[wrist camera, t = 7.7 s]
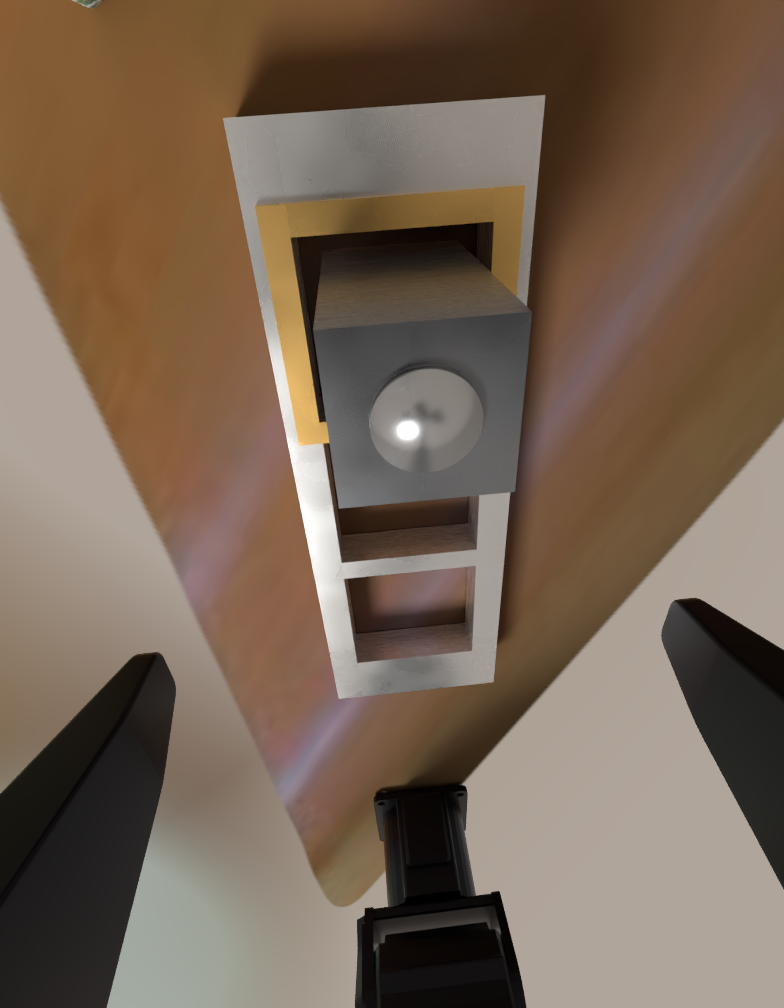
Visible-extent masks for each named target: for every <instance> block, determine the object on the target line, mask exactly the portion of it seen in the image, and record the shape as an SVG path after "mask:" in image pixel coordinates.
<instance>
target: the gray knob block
mask: <svg viewBox="0 0 784 1008" xmlns="http://www.w3.org/2000/svg"><path fill="white" fill-rule="evenodd" d="M531 319H532V311H531V310H530V309H529V308H528V307H527V306H526V305H525V304H524V303H523V302H522V301H521V300H520V299H518V298H517V297H516V296H515V295H514V294H513V293H512V292H511V291H510V290H509V289H508V288H507V287H506V286H505V285H504V284H503V283H502V282H501V281H500V280H498V279H497V278H496V277H495V276H494V275H493V274H492V273H491V272H490V271H489V270H488V269H487V268H486V267H485V266H484V265H483V264H482V263H481V262H480V261H479V260H477V259H476V258H475V257H474V256H473V255H472V254H471V253H470V252H469V251H468V250H467V249H466V248H465V247H464V246H463V245H462V244H461V243H460V242H459V241H458V240H456V239H455V240H442V241H430V242H417V243H404V244H392V245H379V246H367V247H354V248H342V249H329V250H323V254H322V262H321V270H320V278H319V286H318V294H317V302H316V310H315V318H314V326H313V334H314V340H315V347H316V354H317V361H318V368H319V375H320V382H321V388H322V395H323V402H324V409H325V416H326V423H327V430H328V436H329V443H330V450H331V457H332V464H333V471H334V478H335V485H336V491H337V498H338V505H339V509H342V508H352V507H363V506H373V505H383V504H394V503H404V502H415V501H425V500H436V499H446V498H456V497H467V496H477V495H488V494H498V493H509V492H515V486H516V476H517V465H518V455H519V444H520V434H521V424H522V413H523V403H524V392H525V382H526V372H527V361H528V351H529V340H530V330H531Z"/></svg>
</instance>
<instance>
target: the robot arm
mask: <svg viewBox="0 0 784 1008" xmlns="http://www.w3.org/2000/svg"><path fill="white" fill-rule="evenodd" d="M661 636H662V642H663V645H664V648H665V650H666V652H667V655H668V658H669V660H670V662H671V665H672V667H673V670H674V672H675V675H676V677H677V680H678V682H679V685H680V687H681V690H682V692H683V694H684V697H685V699H686V702H687V704H688V707H689V709H690V711H691V714H692V716H693V718H694V720H695V723H696V725H697V727H698V729H699V731H700V733H701V735H702V737H703V739H704V741H705V743H706V744H707V746H708V748H709V750H710V752H711V754H712V756H713V758H714V759H715V761H716V763H717V765H718V767H719V769H720V771H721V773H722V774H723V776H724V778H725V780H726V782H727V784H728V786H729V788H730V789H731V791H732V793H733V795H734V797H735V799H736V801H737V802H738V805H739V806H740V808H741V810H742V812H743V814H744V816H745V818H746V819H747V821H748V823H749V825H750V827H751V828H752V831H753V832H754V835H755V836H756V838H757V840H758V842H759V844H760V846H761V848H762V850H763V851H764V853H765V855H766V857H767V859H768V861H769V863H770V865H771V866H772V868H773V870H774V872H775V874H776V876H777V878H778V879H779V881H780V883H781V885H782V887H783V889H784V650H783V649H781V648H779V647H778V646H776V645H775V644H773V643H771V642H770V641H768V640H766V639H765V638H763V637H761V636H760V635H758V634H757V633H755V632H753V631H752V630H750V629H748V628H747V627H745V626H743V625H742V624H740V623H738V622H737V621H735V620H734V619H732V618H730V617H729V616H727V615H725V614H724V613H722V612H720V611H719V610H717V609H715V608H714V607H712V606H711V605H709V604H707V603H706V602H704V601H702V600H700V599H697V598H689V599H679V600H675V601H674V602H672V604H671V605H670V608H669V611H668V615H667V617H666V620H665V623H664V625H663V628H662V635H661ZM175 696H176V686H175V682H174V679H173V677H172V675H171V672H170V670H169V668H168V666H167V664H166V662H165V660H164V658H163V656H162V655H161V654H160V653H158V652H153V653H143V654H137V655H135V656H133V657H132V658H131V659H130V660H129V661H128V662H127V663H126V664H125V665H124V666H123V667H122V668H121V669H120V670H119V671H118V672H117V673H116V674H115V675H114V676H113V677H112V678H111V679H110V680H109V682H107V683H106V685H105V686H104V687H103V688H102V689H101V690H100V691H99V692H98V693H97V694H96V695H95V696H94V697H93V698H92V699H91V700H90V701H89V702H88V703H87V705H85V707H84V708H82V709H81V710H80V712H79V713H78V714H77V715H76V716H75V717H74V718H73V719H72V720H71V721H70V722H69V723H68V724H67V725H66V726H65V727H64V728H63V729H62V730H61V731H60V732H59V733H58V734H57V735H56V737H55V738H53V740H52V741H51V742H50V743H49V744H48V745H47V746H46V747H45V748H44V749H43V750H42V751H41V752H40V753H39V754H38V755H37V756H36V757H35V758H34V759H33V760H32V761H31V762H30V763H29V764H28V765H27V767H26V768H25V769H24V770H23V771H22V772H21V773H20V774H19V775H18V776H17V777H16V778H15V779H14V780H13V781H12V782H11V783H10V784H9V785H8V786H7V787H6V788H5V789H4V790H3V792H2V793H0V1008H106V1007H107V1004H108V999H109V996H110V992H111V988H112V984H113V980H114V976H115V972H116V968H117V964H118V960H119V956H120V952H121V948H122V944H123V940H124V936H125V932H126V928H127V924H128V920H129V917H130V912H131V909H132V905H133V901H134V896H135V893H136V889H137V885H138V881H139V877H140V873H141V869H142V865H143V861H144V857H145V853H146V849H147V845H148V841H149V837H150V834H151V829H152V826H153V822H154V817H155V814H156V809H157V806H158V802H159V797H160V793H161V789H162V785H163V780H164V773H165V767H166V760H167V753H168V746H169V739H170V732H171V724H172V717H173V710H174V703H175ZM374 807H375V813H376V819H377V825H378V831H379V837H380V840H381V841H384V851H385V867H386V883H387V898H388V907H384V908H377V909H374V908H373V907H371V908H365V916H363V917H362V918H360V919H358V920H357V935H358V936H357V937H358V957H357V977H356V994H355V1008H526V1002H525V996H524V990H523V986H522V980H521V976H520V971H519V967H518V962H517V958H516V954H515V951H514V947H513V943H512V939H511V935H510V931H509V927H508V923H507V919H506V915H505V911H504V907H503V903H502V899H501V895H500V892H499V891H495V892H491V894H486V895H479V896H476V893H475V888H474V883H473V877H472V871H471V866H470V860H469V854H468V849H467V843H466V837H465V832H464V831H465V829H466V812H467V789H466V787H465V786H463V785H458V786H449V787H441V788H432V789H423V790H414V791H406V792H397V793H388V794H380V795H377V796H375V797H374Z"/></svg>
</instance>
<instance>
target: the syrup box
mask: <svg viewBox="0 0 784 1008" xmlns="http://www.w3.org/2000/svg"><path fill="white" fill-rule="evenodd" d="M73 1H75V2H77V3H80V4H82V5H84V6H86V7H89V8H96V7H97V6H98V5H99V4H100V3H101V2H102V0H73Z"/></svg>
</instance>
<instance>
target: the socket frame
mask: <svg viewBox="0 0 784 1008" xmlns="http://www.w3.org/2000/svg"><path fill="white" fill-rule="evenodd" d="M544 105H545V95H539V96H525V97H511V98H497V99H483V100H469V101H455V102H441V103H427V104H413V105H399V106H385V107H372V108H358V109H344V110H330V111H316V112H302V113H288V114H274V115H260V116H246V117H232V118H223V121H224V126H225V131H226V136H227V141H228V146H229V151H230V156H231V161H232V166H233V171H234V176H235V181H236V186H237V191H238V196H239V201H240V206H241V211H242V216H243V221H244V226H245V231H246V236H247V241H248V246H249V251H250V256H251V261H252V266H253V271H254V276H255V281H256V286H257V291H258V296H259V301H260V306H261V311H262V316H263V321H264V326H265V331H266V336H267V341H268V346H269V351H270V356H271V361H272V366H273V371H274V376H275V381H276V386H277V391H278V396H279V401H280V406H281V411H282V416H283V421H284V426H285V431H286V436H287V441H288V446H289V451H290V457H291V462H292V467H293V472H294V477H295V482H296V487H297V492H298V497H299V502H300V507H301V512H302V517H303V522H304V527H305V532H306V537H307V542H308V547H309V552H310V557H311V562H312V567H313V572H314V577H315V582H316V587H317V592H318V597H319V602H320V607H321V612H322V617H323V622H324V627H325V632H326V637H327V642H328V647H329V652H330V657H331V662H332V667H333V672H334V677H335V682H336V687H337V692H338V697H339V699H343V698H352V697H361V696H370V695H380V694H389V693H398V692H407V691H417V690H426V689H435V688H444V687H454V686H463V685H472V684H481V683H491V682H493V681H494V670H495V659H496V647H497V636H498V625H499V614H500V602H501V591H502V580H503V568H504V557H505V546H506V535H507V523H508V512H509V501H510V492H509V493H498V494H488V495H477V496H469V510H468V523H463V524H452V525H442V526H432V527H422V528H412V529H401V530H391V531H381V532H371V533H361V534H350V535H341V529H340V523H339V516H338V509H337V502H336V496H335V489H334V482H333V476H332V469H331V462H330V455H329V449H328V443H329V436H328V430H327V423H326V416H325V409H324V402H323V398H321V395H320V388H319V382H318V375H317V368H316V361H315V355H314V348H313V341H312V335H311V328H310V321H309V314H308V308H307V301H306V294H305V288H304V281H303V274H302V267H301V261H300V254H299V247H298V241H297V237H306V236H318V235H331V234H343V233H356V232H369V231H381V230H394V229H406V228H419V227H431V226H444V225H457V224H469V223H478V235H477V260H479V261H480V262H481V263H482V264H483V265H484V266H485V267H486V268H487V269H488V270H489V271H490V272H491V273H492V274H493V275H494V276H495V277H496V278H497V279H498V280H500V281H501V282H502V283H503V284H504V285H505V286H506V287H507V288H508V289H509V290H510V291H511V292H512V293H513V294H514V295H515V296H516V297H517V298H518V299H520V300H521V301H522V302H523V303H524V304H525V305H526V306H527V297H528V286H529V275H530V264H531V252H532V241H533V230H534V218H535V207H536V196H537V184H538V173H539V162H540V151H541V139H542V128H543V117H544ZM457 567H467V571H466V601H465V623H457V624H447V625H437V626H428V627H418V628H409V629H399V630H389V631H380V632H370V633H361V634H356V630H355V623H354V617H353V610H352V603H351V596H350V590H349V583H348V578H358V577H368V576H378V575H388V574H398V573H408V572H418V571H428V570H438V569H447V568H457Z"/></svg>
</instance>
